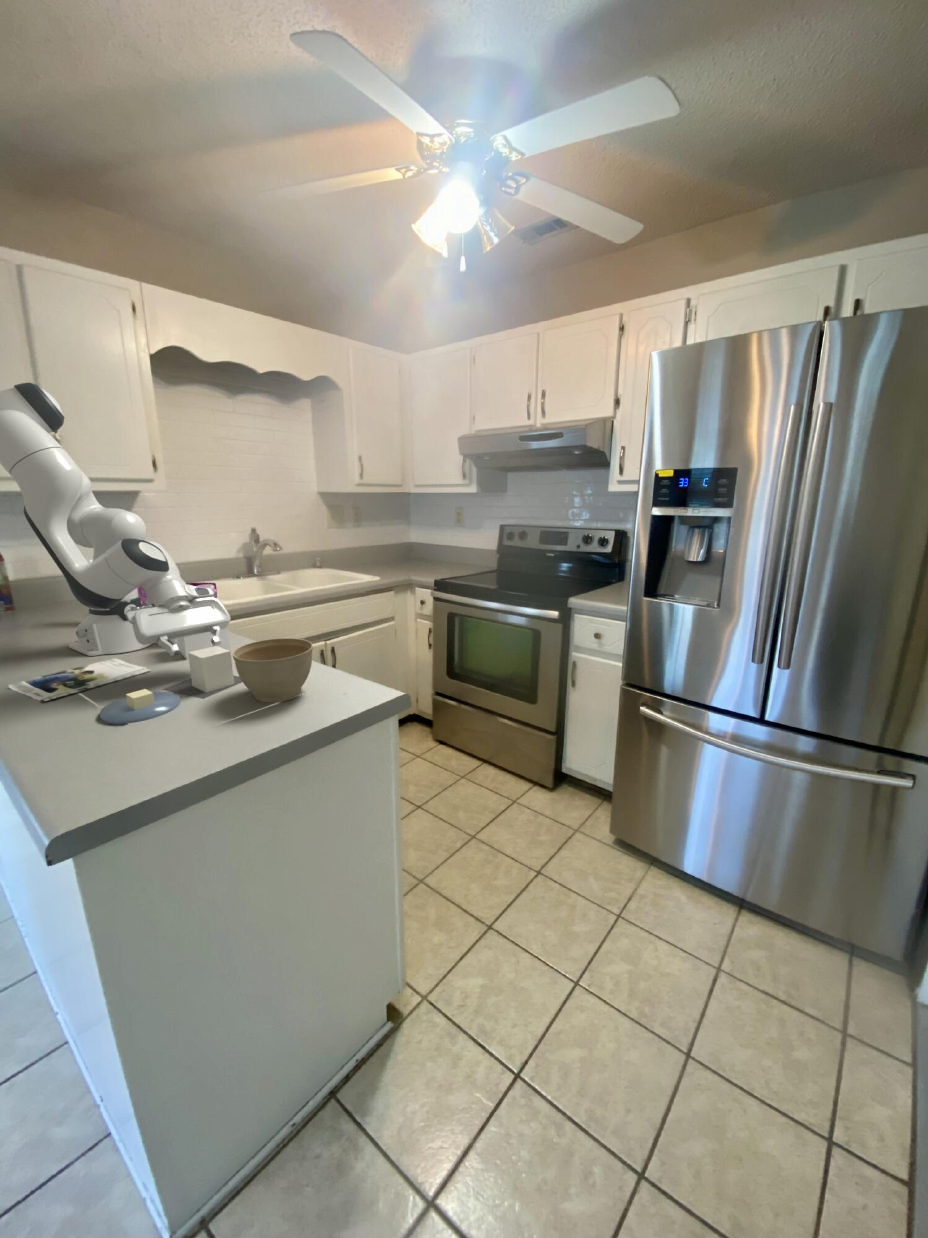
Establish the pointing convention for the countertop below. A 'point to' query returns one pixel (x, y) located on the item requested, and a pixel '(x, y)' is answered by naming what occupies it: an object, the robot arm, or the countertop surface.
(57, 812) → the countertop surface
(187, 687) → the mat
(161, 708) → the plate
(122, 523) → the robot arm
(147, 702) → the butter
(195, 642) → the storage container
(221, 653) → the white rectangular block
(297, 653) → the planter bowl
